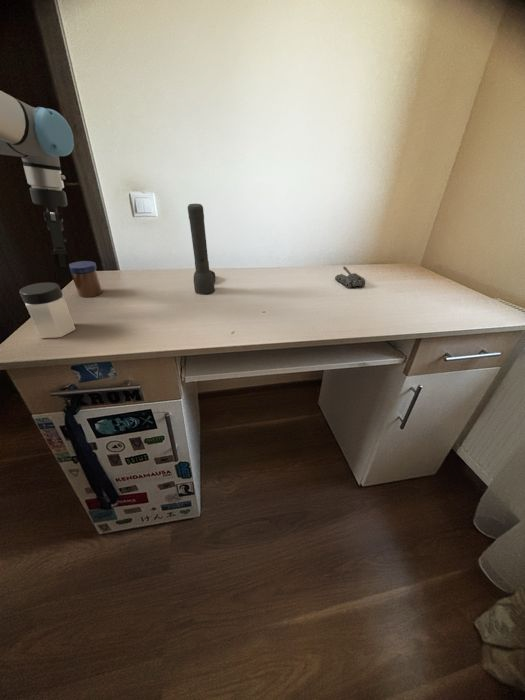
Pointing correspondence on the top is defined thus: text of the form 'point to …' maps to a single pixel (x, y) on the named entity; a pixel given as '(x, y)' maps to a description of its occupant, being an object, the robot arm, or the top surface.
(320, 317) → the top surface
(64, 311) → the jar
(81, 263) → the lid
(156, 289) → the top surface
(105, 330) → the top surface
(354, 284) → the tank toy
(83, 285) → the jam jar
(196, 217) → the flashlight
